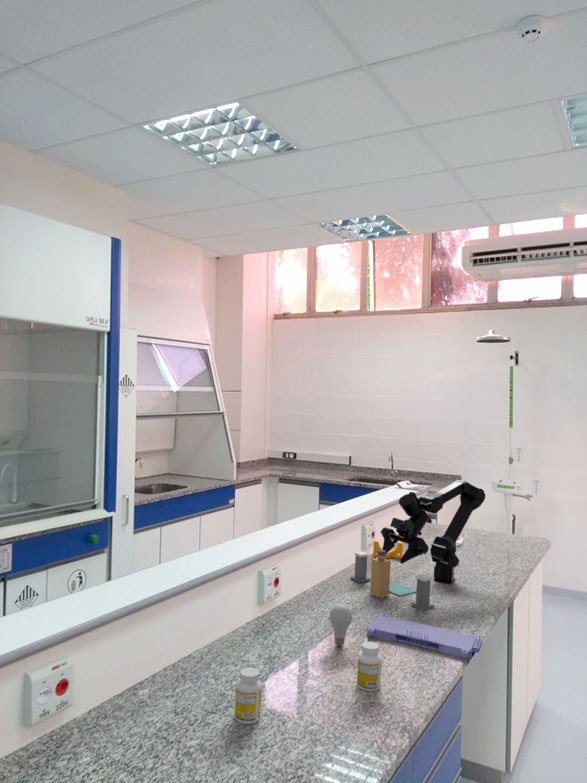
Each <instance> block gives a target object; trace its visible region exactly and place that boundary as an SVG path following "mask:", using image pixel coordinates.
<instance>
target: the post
mask: <svg viewBox="0 0 587 783" xmlns="http://www.w3.org/2000/svg"><path fill="white" fill-rule="evenodd" d="M415 579H416V590H417V592H416V593H415V594H416V597H415V601H411V603H410V604H411V606H412V607H414V608H417V609H418V610H422V611H427V610H431V609H434V605H435V604H433V603H431V602H430V599H431V598H430V596H431V580H432V579H433V576H429V575H428V574H427V575H426V574H424V573H423V574H418V575H415Z"/></svg>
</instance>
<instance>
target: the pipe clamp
mask: <svg viewBox="0 0 587 783" xmlns="http://www.w3.org/2000/svg"><path fill="white" fill-rule="evenodd" d="M373 544H374V545H373ZM373 544H372V546H373V549H372V557H378V554H377V550H382V548H383V547H381V545H380V542H379V540H378V539H373ZM403 548H404V542H400V541H397V543H396V545H395V546H394V547H393V548H392V549H391V550H390V551H389V552H388V553H387V554H386V555H385V559H386V558H389V557H391V559H401V558H402V556H403V552H404V550H403ZM389 559H390V558H389Z"/></svg>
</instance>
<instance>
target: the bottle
mask: <svg viewBox="0 0 587 783" xmlns="http://www.w3.org/2000/svg"><path fill="white" fill-rule="evenodd" d="M376 554H378V558H372V559H371V567H370V568H371V569H370V586H369V587H370V589H369V590H370V592H369V593H371V594H373V595H372V596H374V595H375V596H374V597H376V596H378V597H382V598H384V597H383V596H386V597H388V596H387V595H389V596H390V592H389V586H390V585H391V584H390V582H391V580H390V579H391V563H392V561H391V560H390V559H386V558H385V555H386V551H385V550H377V553H376ZM371 594H370V595H371ZM378 597H377V598H378Z"/></svg>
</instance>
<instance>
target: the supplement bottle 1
mask: <svg viewBox="0 0 587 783" xmlns="http://www.w3.org/2000/svg"><path fill="white" fill-rule="evenodd" d="M239 671H240V672H239V679H238V681H237V682H236V686H235V697H234V698H235V702H234V703H235V704H234V719H235V721H237V722H238V723H239V724H242V725H252V724H255V723H257V722H258V721H259V720H260V718H261V708H262V707H261V705H262V704H261V703H262V691H263V690H262V687H263V686H262V683H261V681H260V670H258V669H257V668H254V667H244V668H242V669H241V670H239Z"/></svg>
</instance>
